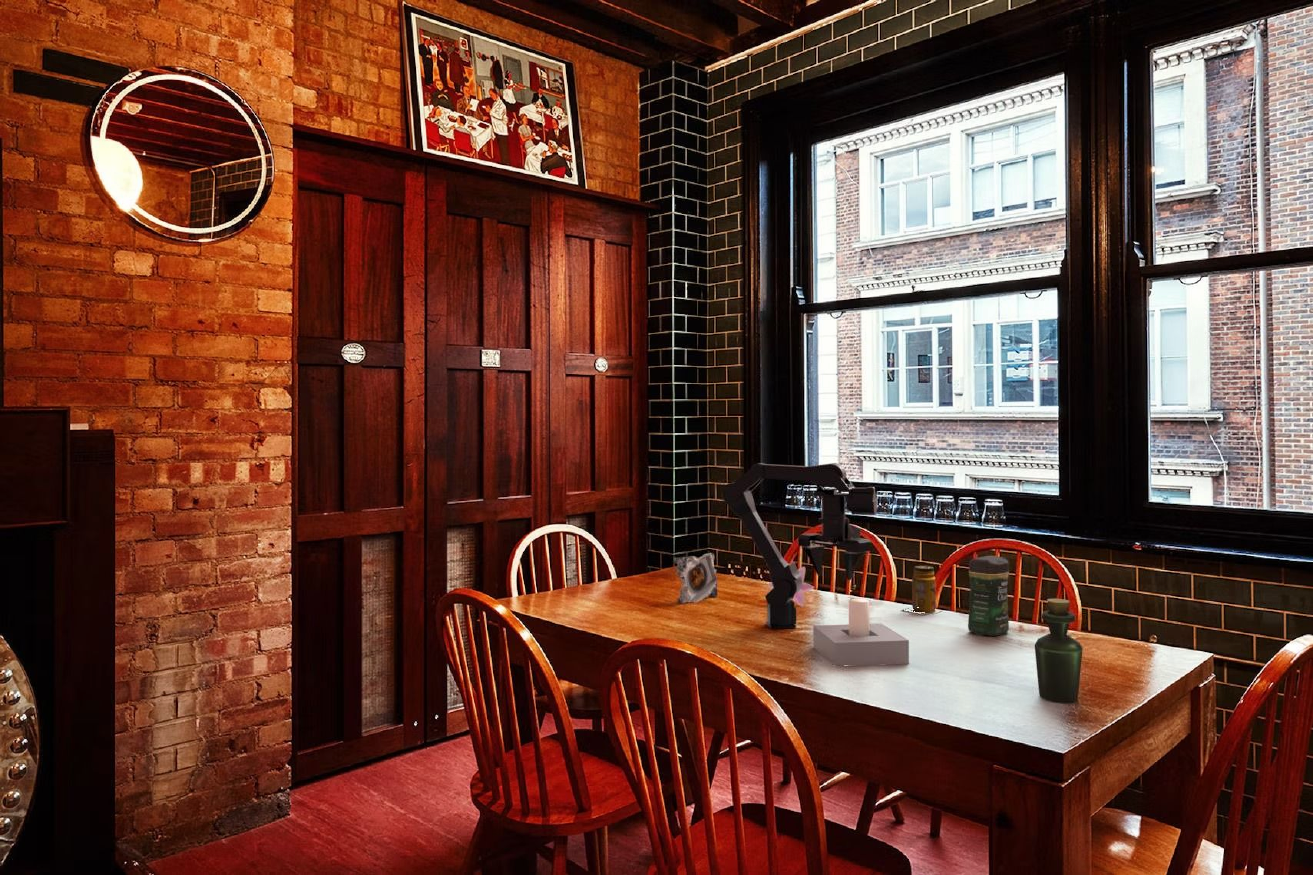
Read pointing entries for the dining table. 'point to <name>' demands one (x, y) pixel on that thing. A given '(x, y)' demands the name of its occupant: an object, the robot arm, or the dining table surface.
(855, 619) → the pink cylinder peg
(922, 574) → the condiment
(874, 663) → the well block
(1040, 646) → the potion bottle
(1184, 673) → the dining table surface
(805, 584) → the lily
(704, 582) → the ornate square frame
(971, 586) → the coffee jar
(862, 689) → the dining table surface
